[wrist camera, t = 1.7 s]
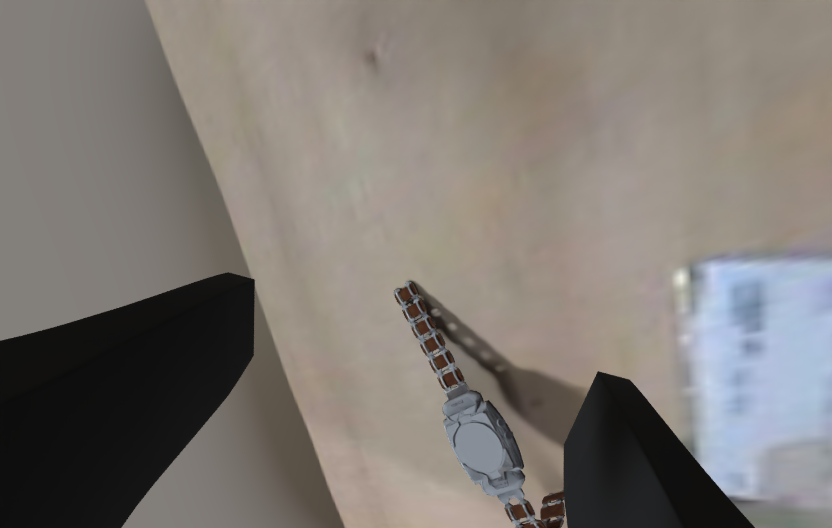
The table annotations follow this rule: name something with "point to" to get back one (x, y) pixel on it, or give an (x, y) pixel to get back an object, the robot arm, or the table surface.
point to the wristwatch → (478, 428)
